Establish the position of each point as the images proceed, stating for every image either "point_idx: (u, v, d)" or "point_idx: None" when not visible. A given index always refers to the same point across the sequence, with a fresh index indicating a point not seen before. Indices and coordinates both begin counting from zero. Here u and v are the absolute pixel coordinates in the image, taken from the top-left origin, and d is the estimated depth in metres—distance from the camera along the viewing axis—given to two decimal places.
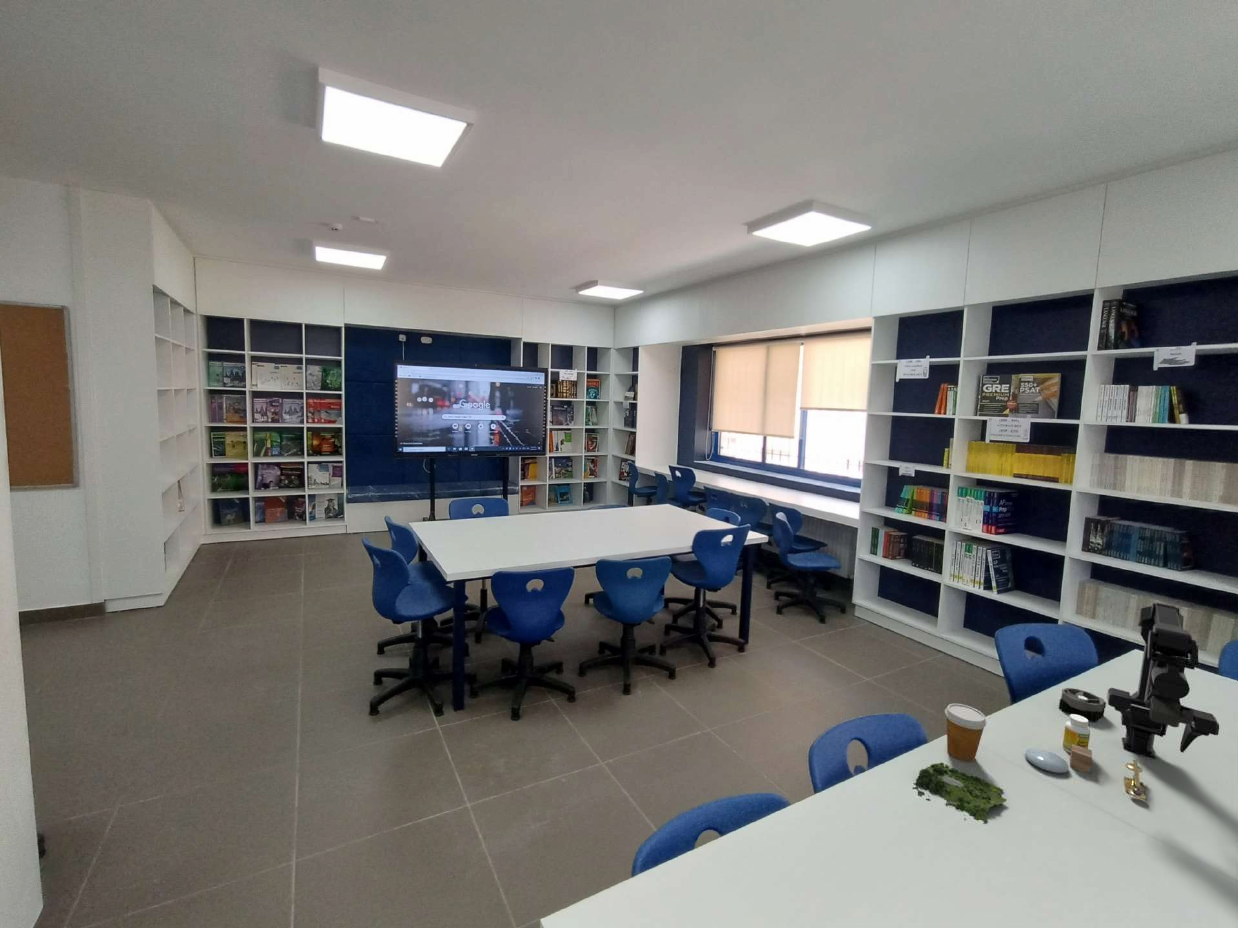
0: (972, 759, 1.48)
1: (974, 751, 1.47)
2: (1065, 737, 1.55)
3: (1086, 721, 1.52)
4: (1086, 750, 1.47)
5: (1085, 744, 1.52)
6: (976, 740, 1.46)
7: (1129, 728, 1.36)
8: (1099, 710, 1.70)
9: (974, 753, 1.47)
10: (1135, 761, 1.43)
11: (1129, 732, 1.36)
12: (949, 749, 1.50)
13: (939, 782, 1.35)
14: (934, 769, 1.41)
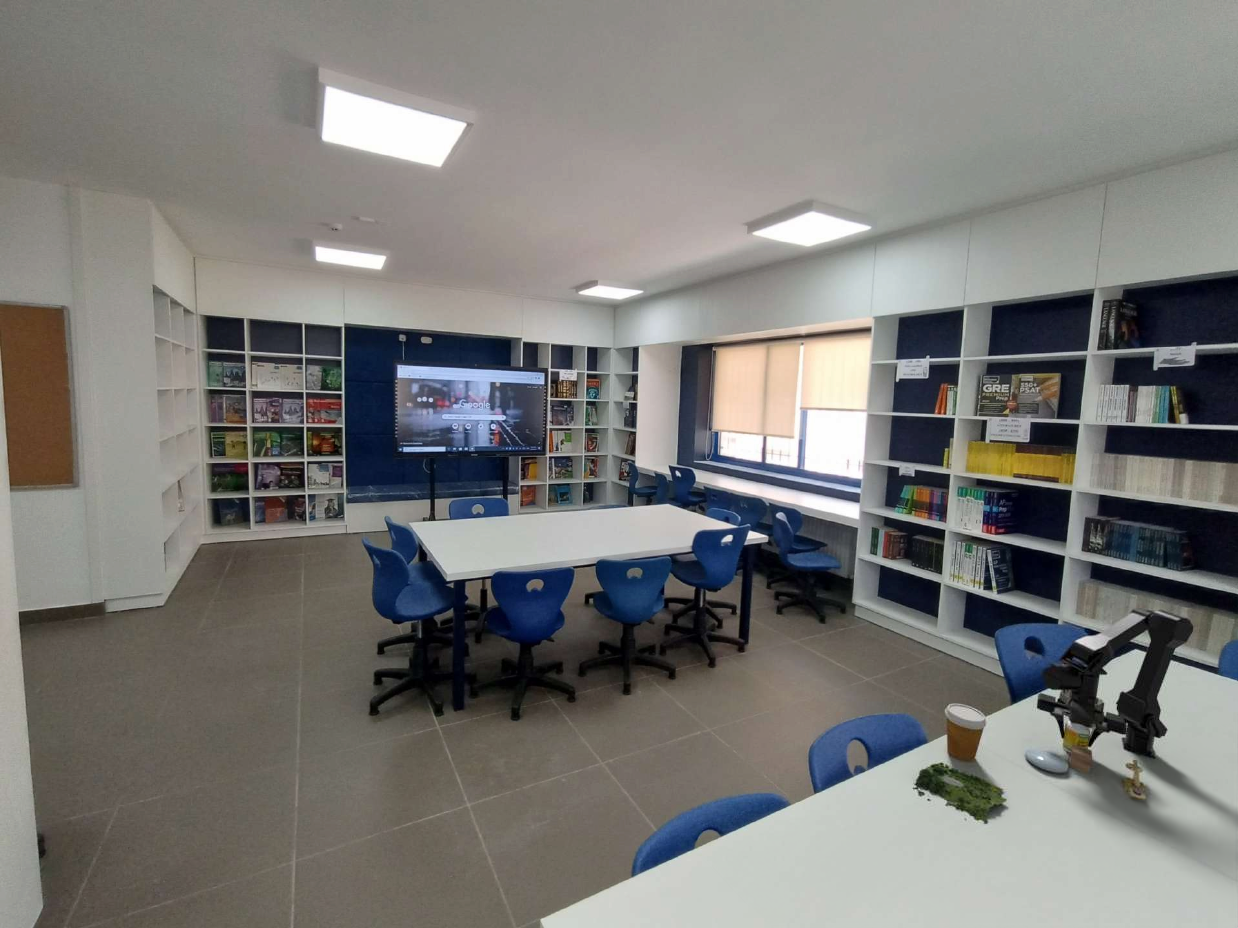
0: (972, 759, 1.48)
1: (974, 751, 1.47)
2: (1065, 737, 1.55)
3: None
4: (1086, 750, 1.47)
5: (1085, 744, 1.52)
6: (976, 740, 1.46)
7: (1062, 731, 1.55)
8: None
9: (974, 753, 1.47)
10: (1135, 761, 1.43)
11: (1062, 734, 1.55)
12: (949, 749, 1.50)
13: (939, 782, 1.35)
14: (934, 769, 1.41)
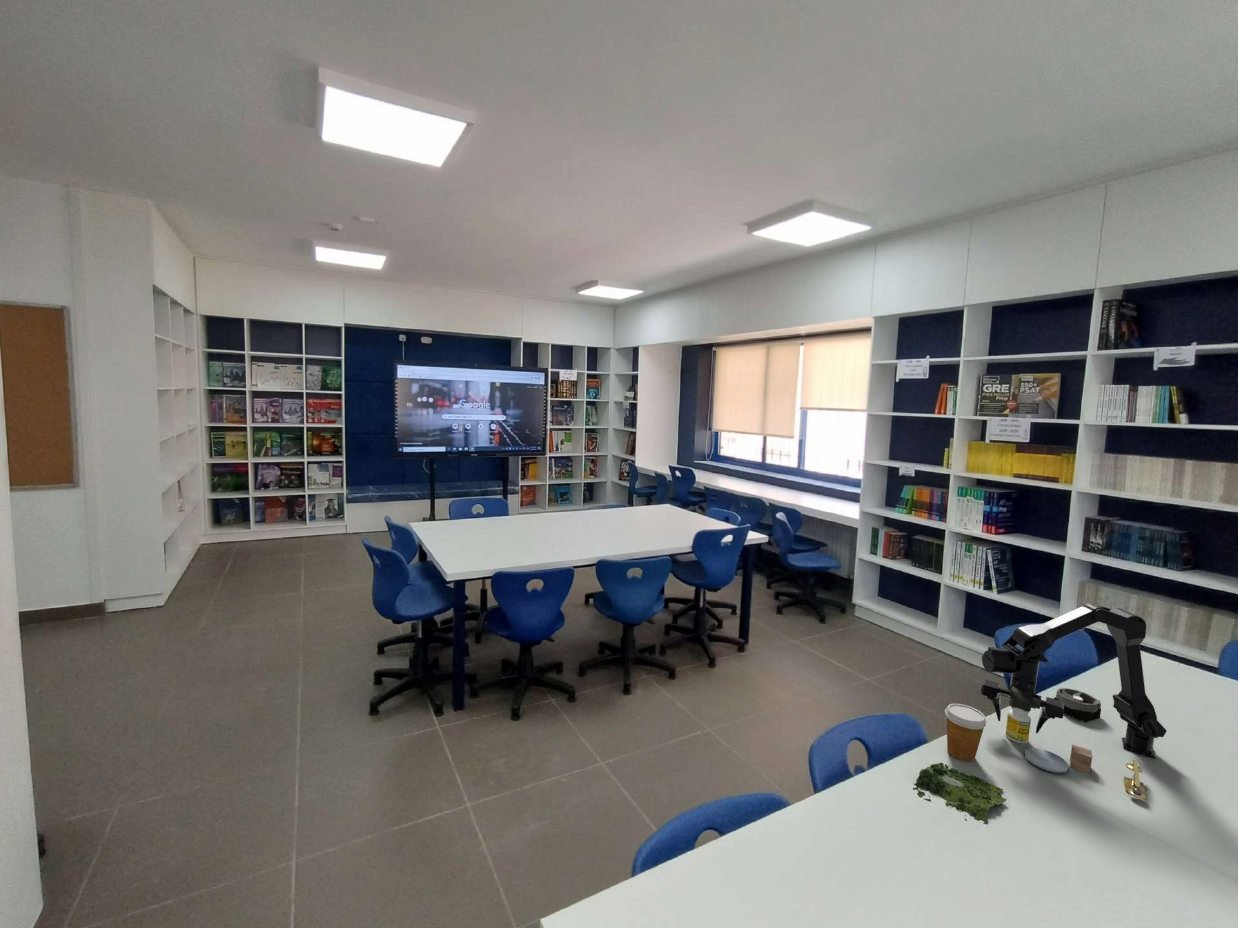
0: (972, 759, 1.48)
1: (974, 751, 1.47)
2: (1007, 725, 1.59)
3: None
4: (1086, 750, 1.47)
5: (1026, 731, 1.56)
6: (976, 740, 1.46)
7: (999, 714, 1.61)
8: (1091, 710, 1.70)
9: (974, 753, 1.47)
10: (1135, 761, 1.43)
11: (999, 717, 1.61)
12: (949, 749, 1.50)
13: (939, 782, 1.35)
14: (934, 769, 1.40)
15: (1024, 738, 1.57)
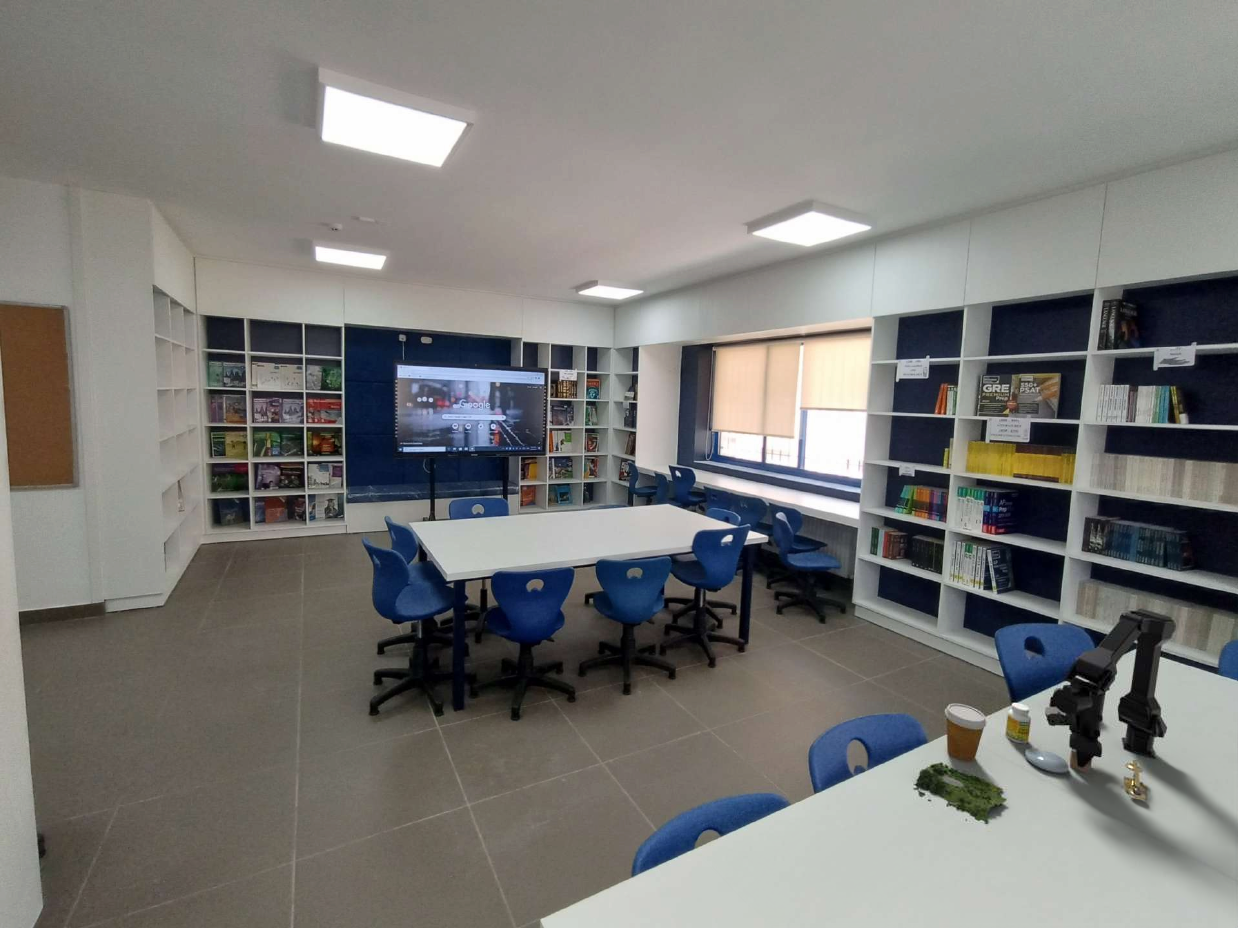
0: (972, 759, 1.48)
1: (974, 751, 1.47)
2: (1007, 725, 1.59)
3: (1027, 709, 1.57)
4: None
5: (1026, 731, 1.56)
6: (976, 740, 1.46)
7: None
8: None
9: (974, 753, 1.47)
10: (1135, 761, 1.43)
11: None
12: (949, 749, 1.50)
13: (939, 782, 1.35)
14: (934, 769, 1.40)
15: (1024, 738, 1.57)
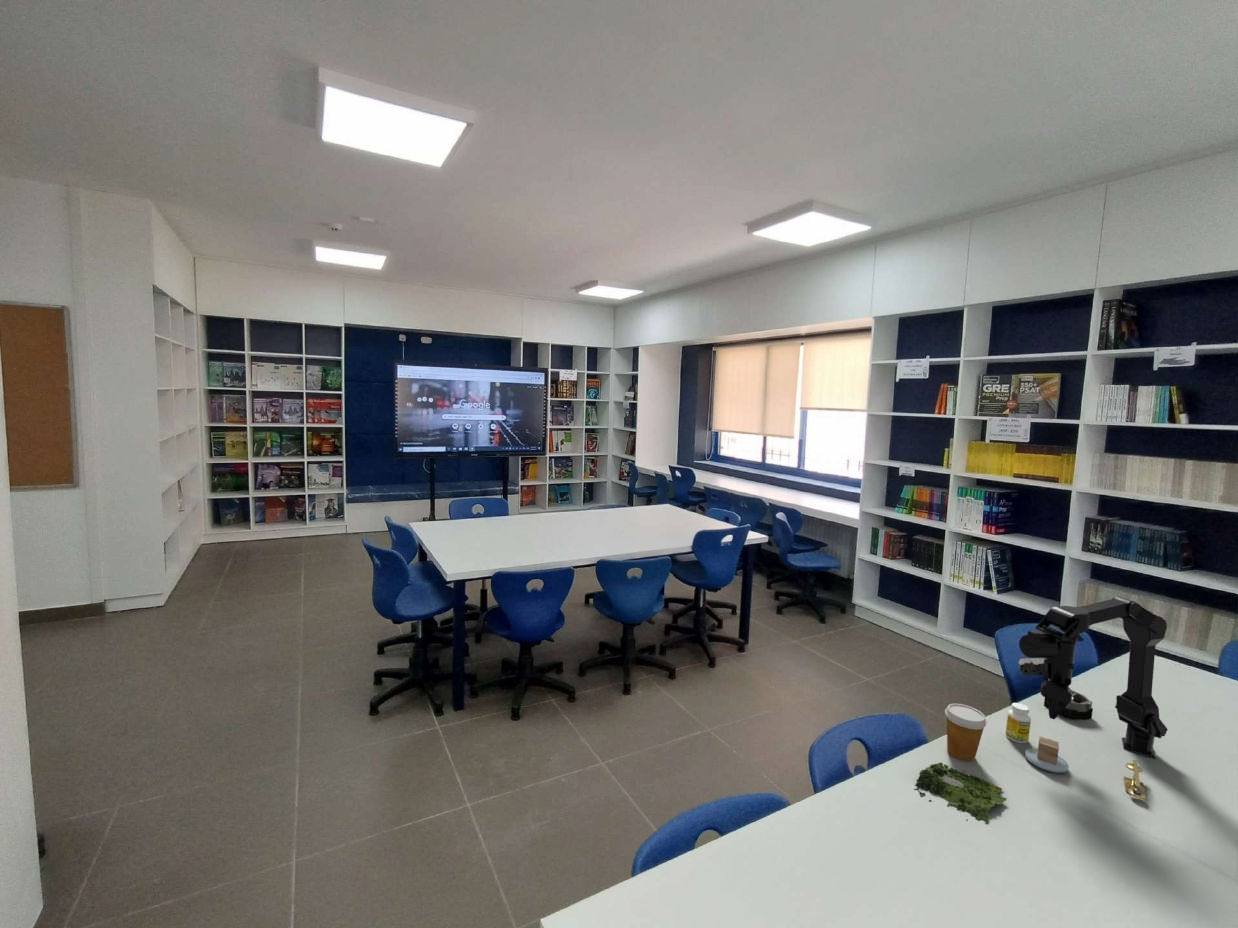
0: (972, 759, 1.48)
1: (974, 751, 1.47)
2: (1007, 725, 1.59)
3: (1027, 709, 1.57)
4: (1053, 742, 1.48)
5: (1026, 731, 1.56)
6: (976, 740, 1.46)
7: None
8: (1078, 709, 1.70)
9: (974, 753, 1.47)
10: (1135, 761, 1.43)
11: None
12: (949, 749, 1.50)
13: (940, 783, 1.35)
14: (934, 769, 1.40)
15: (1024, 738, 1.57)
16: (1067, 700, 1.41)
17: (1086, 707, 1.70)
